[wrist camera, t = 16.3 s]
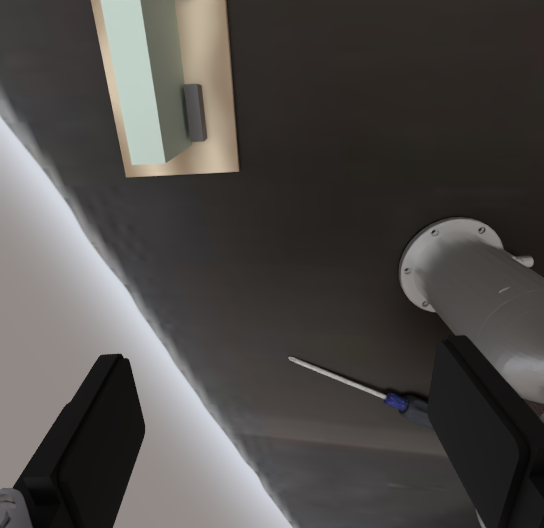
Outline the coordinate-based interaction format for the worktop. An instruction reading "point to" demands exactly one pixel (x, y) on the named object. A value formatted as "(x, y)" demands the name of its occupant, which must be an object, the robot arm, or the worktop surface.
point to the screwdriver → (384, 397)
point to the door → (148, 77)
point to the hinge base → (191, 91)
